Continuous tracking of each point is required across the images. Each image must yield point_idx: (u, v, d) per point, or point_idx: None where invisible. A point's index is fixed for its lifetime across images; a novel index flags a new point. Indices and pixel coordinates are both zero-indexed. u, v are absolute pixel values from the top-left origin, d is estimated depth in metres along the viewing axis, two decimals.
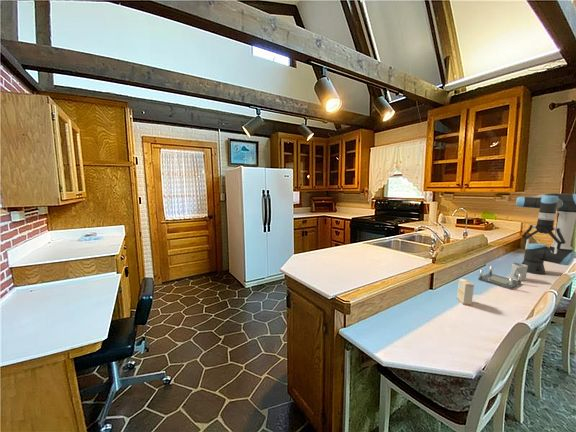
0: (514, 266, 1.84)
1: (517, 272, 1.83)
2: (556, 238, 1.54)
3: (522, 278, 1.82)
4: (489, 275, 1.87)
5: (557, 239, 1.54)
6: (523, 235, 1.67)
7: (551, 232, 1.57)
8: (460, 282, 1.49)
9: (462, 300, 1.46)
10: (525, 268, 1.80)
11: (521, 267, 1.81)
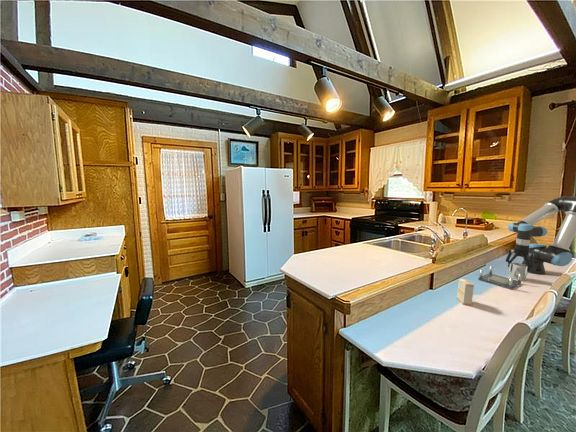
0: (514, 266, 1.84)
1: (517, 272, 1.83)
2: (528, 262, 1.78)
3: (522, 278, 1.82)
4: (489, 275, 1.87)
5: (528, 263, 1.78)
6: (506, 259, 1.88)
7: (526, 256, 1.81)
8: (460, 282, 1.49)
9: (462, 300, 1.46)
10: (525, 268, 1.80)
11: (521, 267, 1.81)
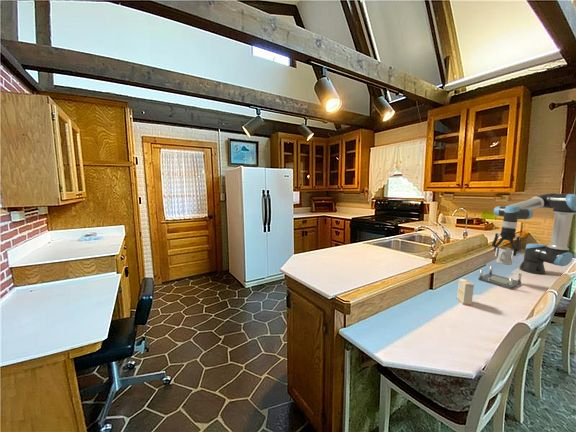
0: (500, 250, 1.77)
1: (503, 256, 1.75)
2: (514, 246, 1.71)
3: (508, 262, 1.74)
4: (489, 275, 1.87)
5: (514, 247, 1.71)
6: (493, 244, 1.81)
7: (512, 239, 1.73)
8: (460, 282, 1.49)
9: (462, 300, 1.46)
10: (511, 252, 1.73)
11: (507, 251, 1.73)
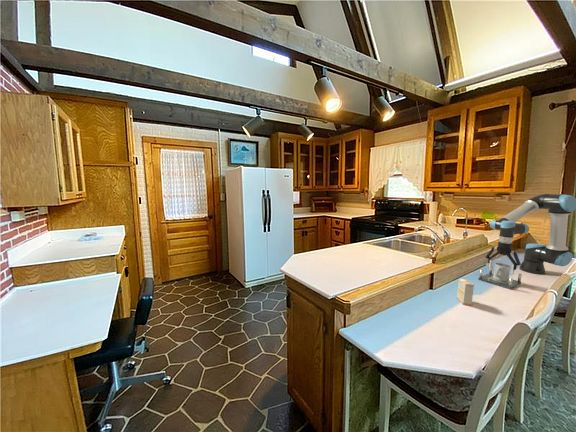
0: (496, 266, 1.78)
1: (499, 272, 1.77)
2: (513, 260, 1.71)
3: (504, 279, 1.75)
4: (489, 275, 1.87)
5: (514, 261, 1.71)
6: (487, 256, 1.83)
7: (509, 254, 1.74)
8: (460, 282, 1.49)
9: (462, 300, 1.46)
10: (507, 268, 1.74)
11: (503, 267, 1.75)
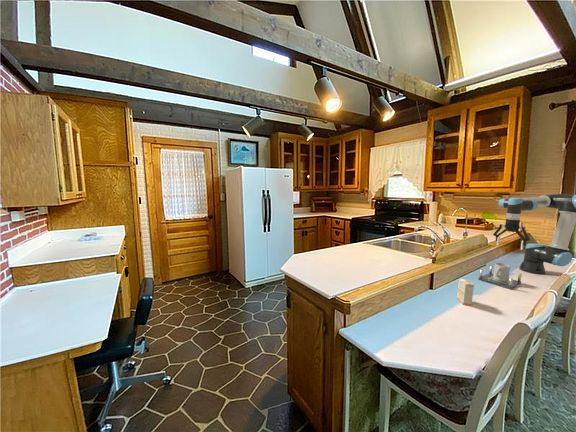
0: (496, 266, 1.78)
1: (499, 272, 1.77)
2: (522, 236, 1.72)
3: (504, 279, 1.75)
4: (489, 275, 1.87)
5: (523, 236, 1.72)
6: (494, 233, 1.85)
7: (518, 230, 1.75)
8: (460, 282, 1.49)
9: (462, 300, 1.46)
10: (507, 268, 1.74)
11: (503, 267, 1.75)
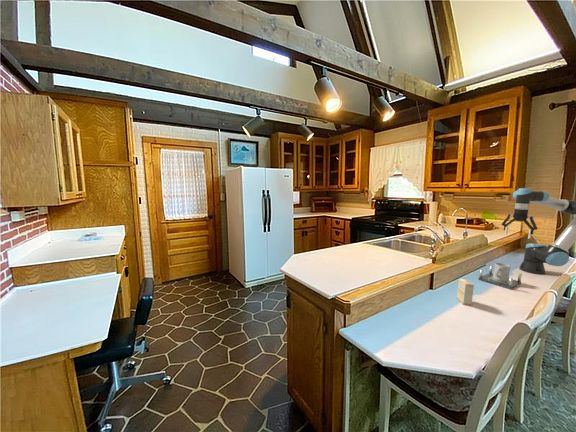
0: (496, 266, 1.78)
1: (499, 272, 1.77)
2: (529, 225, 1.78)
3: (504, 279, 1.75)
4: (489, 275, 1.87)
5: (530, 226, 1.78)
6: (502, 223, 1.91)
7: (526, 220, 1.81)
8: (460, 282, 1.49)
9: (462, 300, 1.46)
10: (507, 268, 1.74)
11: (503, 267, 1.75)
